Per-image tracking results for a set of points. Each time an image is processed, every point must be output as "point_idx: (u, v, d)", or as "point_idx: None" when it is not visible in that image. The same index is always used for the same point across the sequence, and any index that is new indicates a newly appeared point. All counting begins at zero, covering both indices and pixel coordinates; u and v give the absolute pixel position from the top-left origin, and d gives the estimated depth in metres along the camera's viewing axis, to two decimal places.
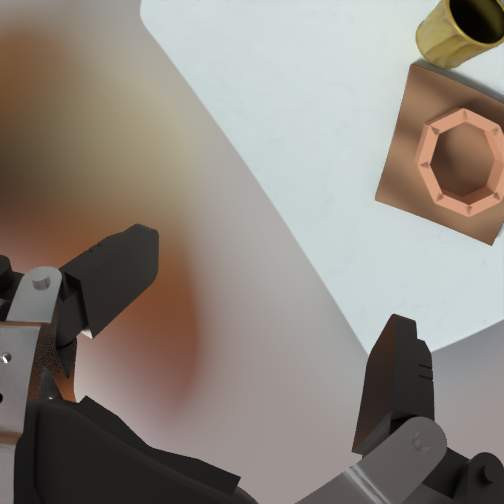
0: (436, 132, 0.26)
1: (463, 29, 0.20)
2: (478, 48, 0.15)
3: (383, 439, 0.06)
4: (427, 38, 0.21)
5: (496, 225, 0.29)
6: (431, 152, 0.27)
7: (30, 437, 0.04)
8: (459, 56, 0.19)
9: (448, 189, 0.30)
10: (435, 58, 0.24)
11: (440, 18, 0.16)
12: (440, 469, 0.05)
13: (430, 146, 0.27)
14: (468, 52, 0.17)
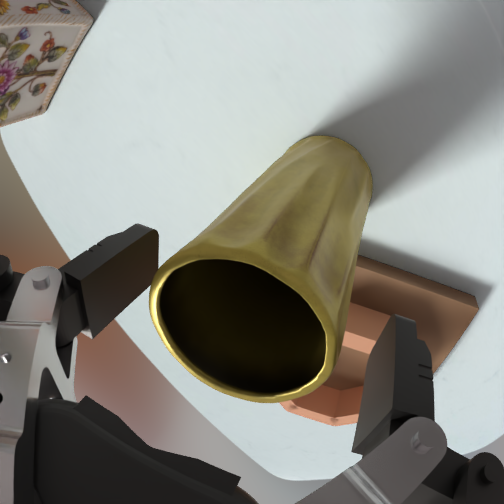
0: None
1: None
2: None
3: (383, 439, 0.06)
4: None
5: None
6: None
7: (30, 438, 0.04)
8: None
9: None
10: None
11: None
12: (440, 469, 0.05)
13: None
14: None
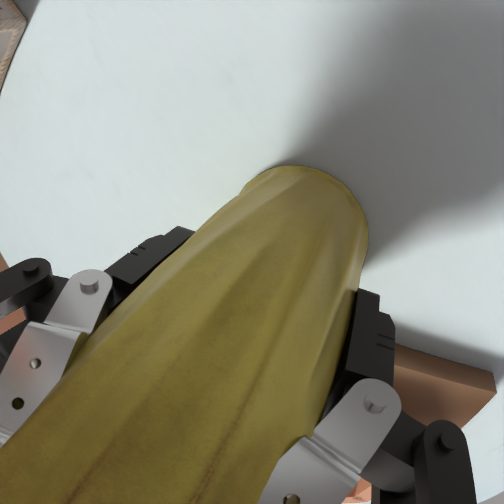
0: None
1: None
2: None
3: (339, 401, 0.07)
4: None
5: None
6: None
7: None
8: None
9: None
10: None
11: None
12: (397, 434, 0.06)
13: None
14: None
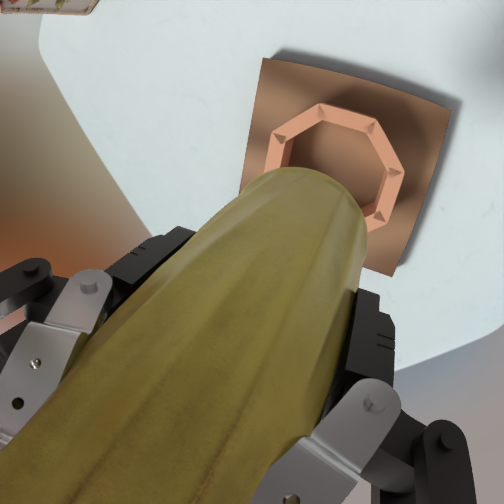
0: (281, 140, 0.24)
1: None
2: None
3: (339, 401, 0.07)
4: None
5: (396, 251, 0.27)
6: (277, 166, 0.25)
7: None
8: None
9: None
10: None
11: None
12: (397, 434, 0.06)
13: (275, 158, 0.24)
14: None
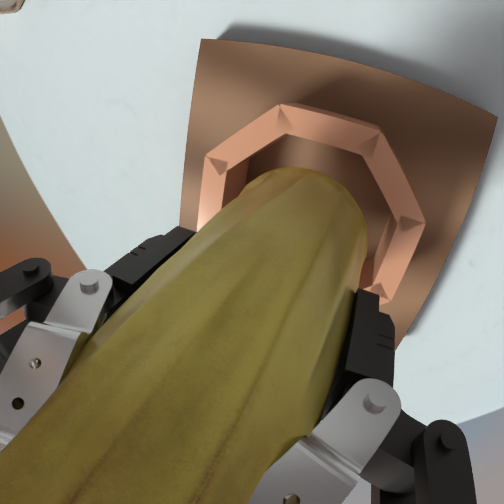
0: (221, 168, 0.15)
1: None
2: None
3: (339, 401, 0.07)
4: None
5: (400, 324, 0.18)
6: (217, 209, 0.16)
7: None
8: None
9: None
10: None
11: None
12: (397, 434, 0.06)
13: (213, 197, 0.16)
14: None
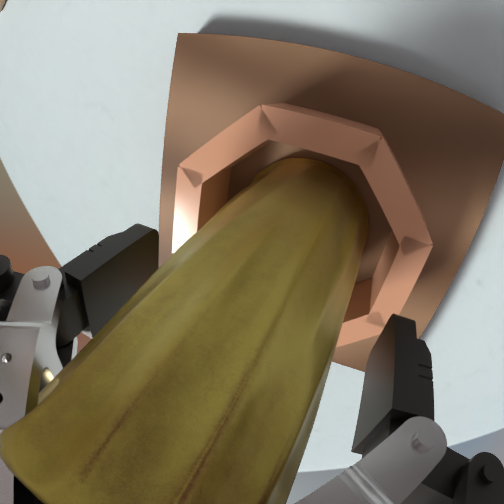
0: (195, 180, 0.13)
1: None
2: None
3: (383, 439, 0.06)
4: None
5: None
6: (192, 226, 0.14)
7: None
8: None
9: None
10: None
11: None
12: (440, 469, 0.05)
13: (188, 213, 0.14)
14: None
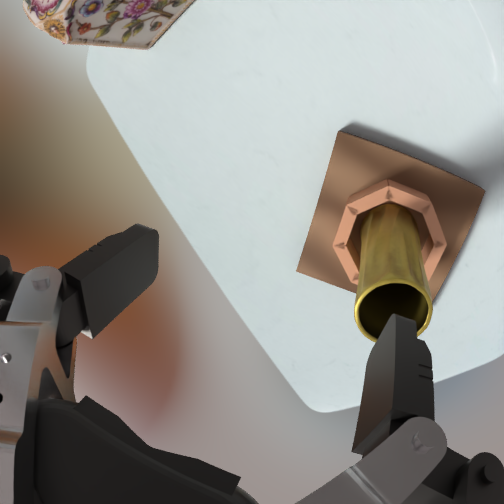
0: (354, 212, 0.28)
1: None
2: None
3: (383, 439, 0.06)
4: None
5: None
6: (347, 233, 0.29)
7: (30, 437, 0.04)
8: None
9: None
10: None
11: None
12: (440, 469, 0.05)
13: (347, 227, 0.29)
14: None
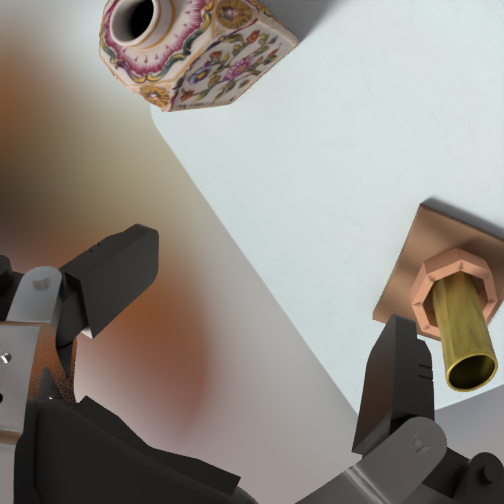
0: (432, 280, 0.32)
1: None
2: (462, 381, 0.24)
3: (383, 439, 0.06)
4: None
5: None
6: (425, 295, 0.33)
7: (30, 437, 0.04)
8: None
9: None
10: None
11: (444, 355, 0.25)
12: (440, 469, 0.05)
13: (425, 290, 0.32)
14: None
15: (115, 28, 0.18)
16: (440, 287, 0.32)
